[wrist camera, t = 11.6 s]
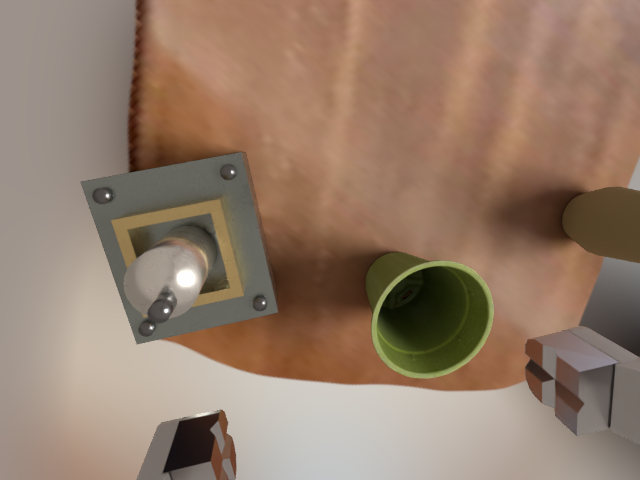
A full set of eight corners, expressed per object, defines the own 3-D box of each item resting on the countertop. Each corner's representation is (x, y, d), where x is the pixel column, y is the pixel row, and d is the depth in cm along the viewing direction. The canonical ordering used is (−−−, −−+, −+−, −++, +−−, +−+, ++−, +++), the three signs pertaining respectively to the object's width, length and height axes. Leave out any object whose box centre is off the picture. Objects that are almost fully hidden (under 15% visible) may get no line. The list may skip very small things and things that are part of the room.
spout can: (153, 232, 33) (100, 269, 22) (208, 220, 34) (181, 252, 23) (169, 282, 34) (125, 340, 24) (222, 270, 35) (202, 322, 24)
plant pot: (331, 311, 44) (352, 363, 33) (367, 220, 42) (401, 243, 31) (417, 336, 46) (462, 392, 35) (455, 250, 44) (515, 282, 33)
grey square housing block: (110, 177, 37) (64, 184, 29) (245, 152, 38) (239, 152, 30) (155, 317, 41) (127, 358, 33) (277, 290, 42) (278, 323, 34)
